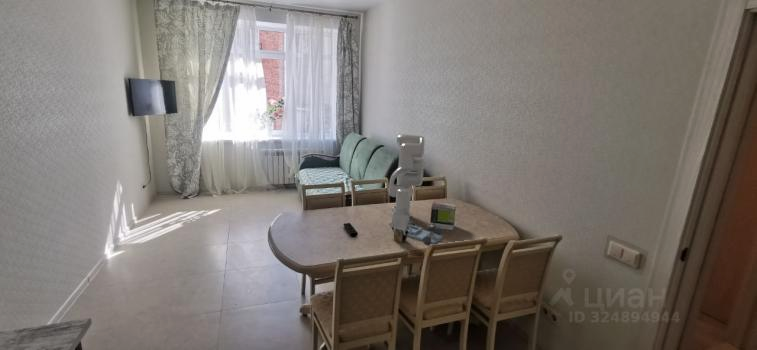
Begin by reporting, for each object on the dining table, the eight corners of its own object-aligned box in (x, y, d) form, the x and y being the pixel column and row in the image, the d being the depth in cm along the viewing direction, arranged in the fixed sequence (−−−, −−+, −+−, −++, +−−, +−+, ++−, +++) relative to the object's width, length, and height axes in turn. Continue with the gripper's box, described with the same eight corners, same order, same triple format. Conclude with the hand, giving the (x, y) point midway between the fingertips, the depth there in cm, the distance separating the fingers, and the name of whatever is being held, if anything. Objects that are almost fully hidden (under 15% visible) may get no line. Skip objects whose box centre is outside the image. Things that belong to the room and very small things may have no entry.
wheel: (425, 233, 210) (425, 226, 209) (429, 230, 215) (429, 223, 213) (433, 235, 208) (433, 228, 206) (436, 233, 212) (437, 225, 211)
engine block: (393, 240, 207) (394, 229, 205) (398, 237, 211) (399, 227, 209) (401, 243, 204) (402, 232, 203) (405, 240, 208) (406, 229, 207)
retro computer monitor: (454, 225, 235) (456, 204, 231) (453, 231, 226) (455, 209, 222) (431, 222, 239) (433, 201, 235) (429, 227, 229) (431, 205, 226)
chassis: (393, 233, 217) (394, 226, 216) (406, 226, 230) (407, 219, 229) (432, 245, 203) (433, 238, 202) (443, 237, 216) (444, 230, 215)
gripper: (385, 208, 205) (384, 237, 209) (411, 215, 195) (409, 245, 200) (392, 205, 211) (391, 233, 215) (418, 211, 201) (415, 241, 206)
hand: (399, 239), depth 207 cm, fingers closed on engine block, 5 cm apart
